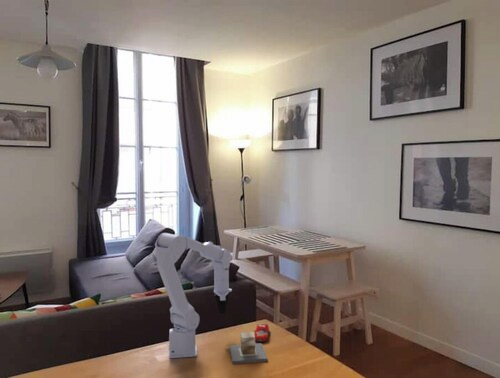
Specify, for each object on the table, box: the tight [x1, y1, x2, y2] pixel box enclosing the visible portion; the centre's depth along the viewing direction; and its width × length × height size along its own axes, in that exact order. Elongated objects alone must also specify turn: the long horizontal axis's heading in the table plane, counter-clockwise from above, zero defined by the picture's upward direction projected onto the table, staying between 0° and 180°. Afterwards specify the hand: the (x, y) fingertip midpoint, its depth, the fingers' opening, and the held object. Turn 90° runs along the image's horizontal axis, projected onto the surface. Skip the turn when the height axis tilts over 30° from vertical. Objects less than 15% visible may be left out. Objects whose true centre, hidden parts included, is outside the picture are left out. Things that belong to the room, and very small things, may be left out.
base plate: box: [229, 342, 268, 365], centre depth 138 cm, size 12×12×1 cm
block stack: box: [240, 331, 256, 355], centre depth 138 cm, size 4×4×6 cm
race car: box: [254, 322, 270, 343], centre depth 154 cm, size 13×5×4 cm, turn 172°
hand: (221, 312), depth 153 cm, fingers closed
